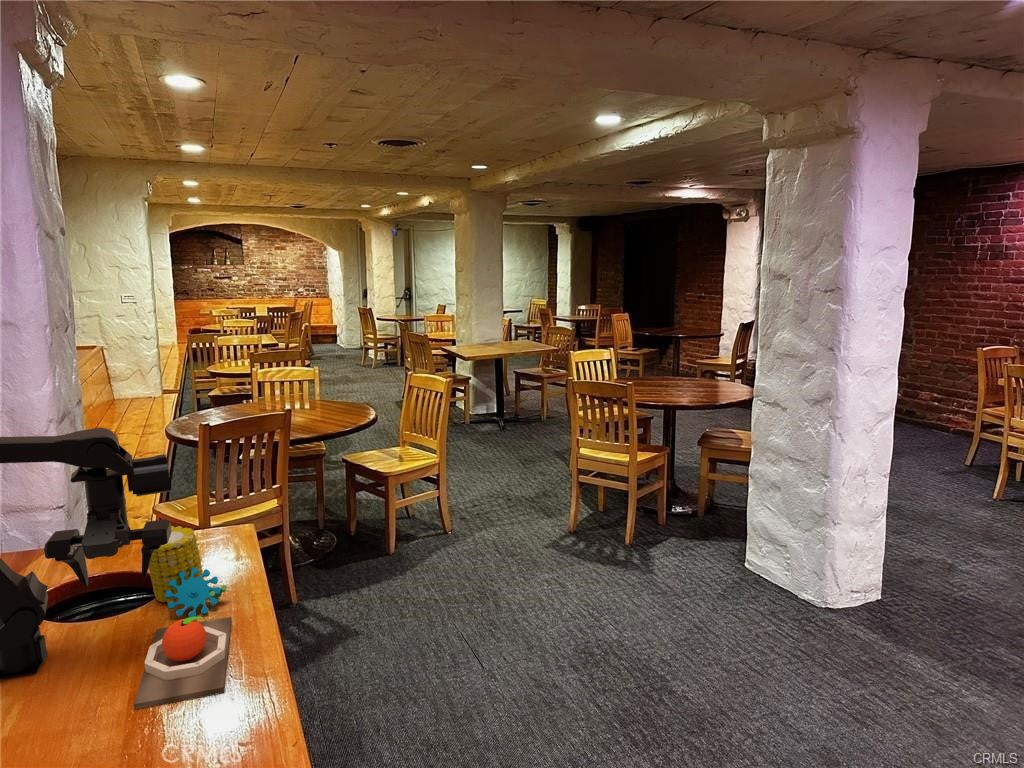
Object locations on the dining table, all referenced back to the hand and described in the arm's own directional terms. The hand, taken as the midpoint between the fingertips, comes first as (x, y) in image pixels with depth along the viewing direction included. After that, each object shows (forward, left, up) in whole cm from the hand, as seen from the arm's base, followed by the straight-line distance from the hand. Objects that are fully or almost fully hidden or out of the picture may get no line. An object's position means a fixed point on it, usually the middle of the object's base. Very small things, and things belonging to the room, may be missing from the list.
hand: (115, 582), depth 120 cm
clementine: (+12, -10, -11) cm, 19 cm away
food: (+7, +15, -12) cm, 21 cm away
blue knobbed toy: (+12, +8, -12) cm, 19 cm away
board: (+12, -10, -12) cm, 20 cm away
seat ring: (+12, -10, -12) cm, 20 cm away
